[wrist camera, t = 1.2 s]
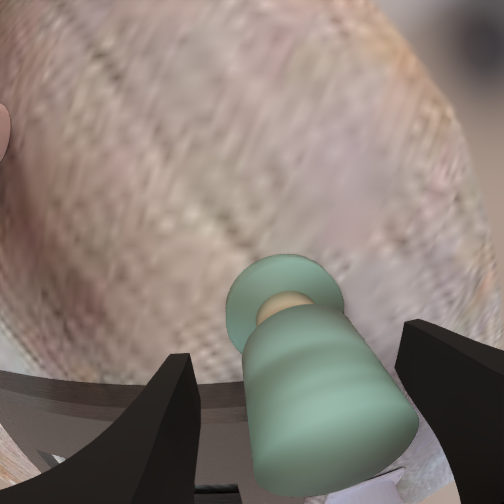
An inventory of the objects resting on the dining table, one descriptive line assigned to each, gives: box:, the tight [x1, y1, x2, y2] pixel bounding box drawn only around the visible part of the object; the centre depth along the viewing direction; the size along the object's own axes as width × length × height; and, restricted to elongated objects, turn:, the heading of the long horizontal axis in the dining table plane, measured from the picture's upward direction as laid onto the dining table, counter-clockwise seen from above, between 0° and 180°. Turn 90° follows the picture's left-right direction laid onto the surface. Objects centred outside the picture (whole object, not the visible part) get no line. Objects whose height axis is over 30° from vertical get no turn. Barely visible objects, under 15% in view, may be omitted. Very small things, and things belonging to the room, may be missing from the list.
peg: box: [226, 254, 419, 497], centre depth 9 cm, size 5×5×8 cm
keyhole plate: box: [0, 370, 305, 504], centre depth 14 cm, size 16×20×3 cm
